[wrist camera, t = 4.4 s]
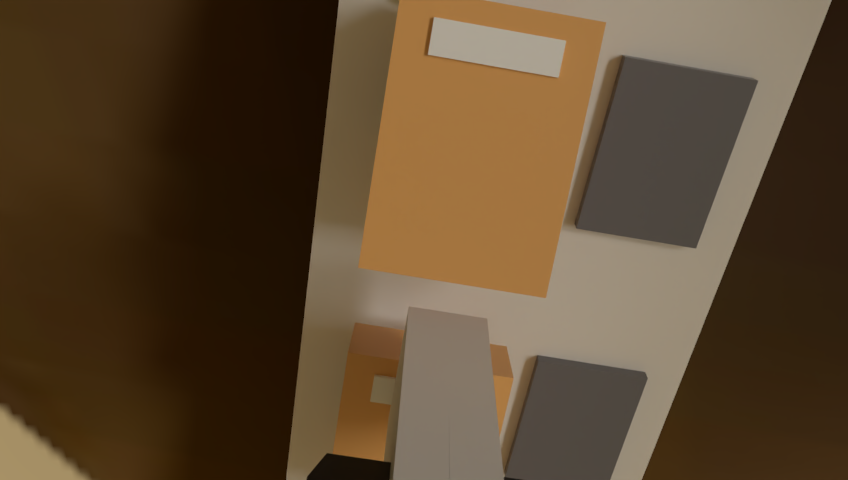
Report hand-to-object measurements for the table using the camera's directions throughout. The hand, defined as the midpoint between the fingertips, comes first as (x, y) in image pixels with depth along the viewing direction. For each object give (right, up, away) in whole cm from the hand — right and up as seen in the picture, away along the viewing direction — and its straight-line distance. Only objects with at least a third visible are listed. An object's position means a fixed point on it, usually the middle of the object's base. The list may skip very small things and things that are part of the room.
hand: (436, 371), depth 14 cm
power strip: (+2, +3, +6) cm, 7 cm away
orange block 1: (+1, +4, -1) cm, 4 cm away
